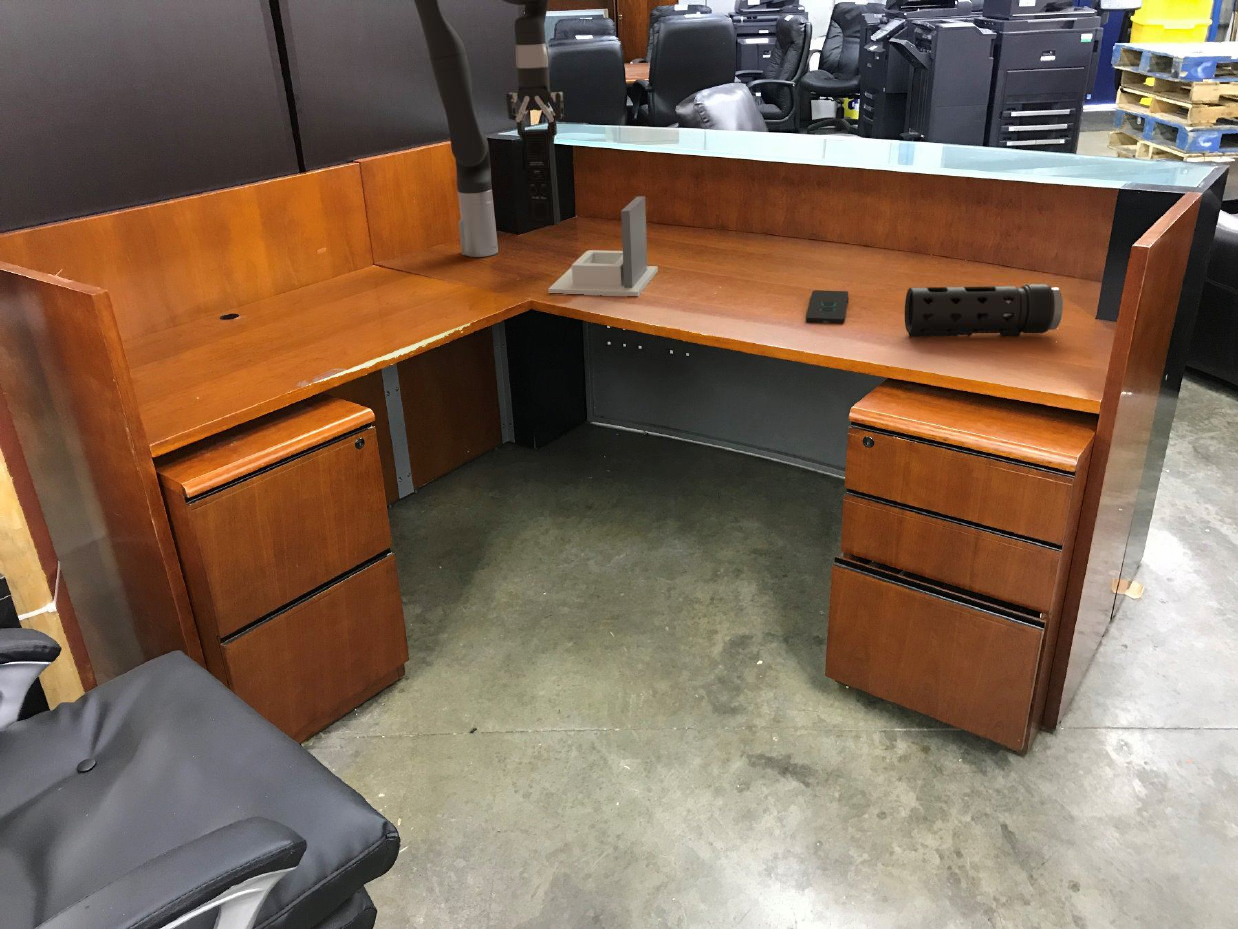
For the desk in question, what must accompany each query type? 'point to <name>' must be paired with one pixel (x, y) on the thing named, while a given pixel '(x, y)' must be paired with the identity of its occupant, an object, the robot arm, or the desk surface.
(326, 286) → the desk surface
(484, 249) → the robot arm
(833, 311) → the smart home device
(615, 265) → the docking stand
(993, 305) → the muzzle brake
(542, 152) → the portable radio
